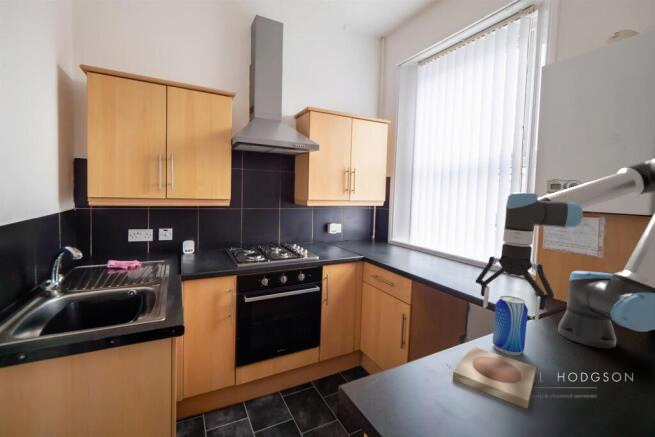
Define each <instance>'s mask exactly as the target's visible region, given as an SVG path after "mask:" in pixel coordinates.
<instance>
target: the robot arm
mask: <svg viewBox="0 0 655 437" xmlns="http://www.w3.org/2000/svg"><path fill="white" fill-rule="evenodd" d="M652 193H655V157H653V158H649V159H647V160H644V161H641V162H638V163H636V164H632V165H629V166H626V167H623V168H621V169H619V170H618V171H617V173H614V174H612V175H608V176H604V177H602V178H598V179H595V180H592V181H589V182H585V183H582V184H579V185H575V186H573V187H570V188H567V189H563V190H558V191H556V192H554V193H550V194H546V195H543V196H540V197H538V194H537V193H536V192H535V193H532V192H511V193H509V194H508V196H507V199H506V205H505V220H504V229H503V235H502V236H503V238H502V241H503V242H504V243H502V246H501V247H502V248H501V256H500V257H496V256H495V255H491V256H489V258H488V263H487V264H486V266H485V267H484V268H483V270H482V271H481V272H480V274H479V275H478V276H477V278H476V279H475V284H479V285H480V287H481V289H480V296H481V297H483V305H482V307H483V308H484V309H486V308H487V307H488V305H489V304H488V303H489V298H490V297H489V294H490V285H488V284H490V283H491V282H493V281H494V280H495V279H497V278H498V277H499V276H501V275H502V274H504V272H505V274H507V275H514V276H517V277H521V276H522V277H523V278H524V279H525V280H526V281H527V282H528V283H529V285H530V286H531V287H532V289H533V290H534V291H535V293H536V294H537V295H538V296H537V298H536V303H535V304H536V305H535V312H534V313H535V314H534V321H536V322H539V318H540V310H541V311H545V307H546V300H547V299H554V297H555V294H554V292H553V289H552V287H551V284H550V283H549V280H548V278H547V276H546V274H545V271H544V264H543V263H541V262H540V263H532V260H531V259H532V252H533V251H532V249H533V248H532V246H531V245H533V241H534V231H535V226H539V227H540V226H541V227H555V228H563V229H565V228H576V227H577V226H579V225H580V223H581V222H582V220H583V214H584V212H583V209H584V208H588V207H592V206H594V205H599V204H602V203H604V202H608V201H612V200H615V199H619V198H622V197H626V196H629V197H636V196H639V195H642V194H643V195H644V194H652ZM645 227H646V228H645V229H644V232H643V233H642V235H641V237H640V238H639V240H638V243H637V244H636V246H635V248H634V249H633V251H632V254H631V255H630V256H629V259H628V261H627V263H626V265H625V266H624V267H623V270H620V271H618V272H614V273H607V272H600V271H587V270H574V271H572V272H570V276H569V280H568V282H569V283H568V284H569V285H568V292H567V293H568V294H567V302H566V311H565V313H564V314H563V316H562V318H561V320H560V321H559V324H558V325H557V326H558V327H557V332H558V333H559V334H560V335H561V336H562V337H564V338H566V339H568V340H570V341H573V342H575V343H578V344H581V345H584V346H587V347H588V346H589V347H594V348H598V349H613V348H616V346H617V336H616V334H615V330H614V327H613V326H614V325H613V323H612V322H614V323H615V324H617V325H618V326H621V327H624V328H627V329H630V330H633V331H636V332H649V331H654V330H655V211H654V212H653V214H652V216H651V218H650V220H649V222H648V224H647V226H645ZM497 263H499V265H500V266H501V268H500V269H499V270H497V271H496V272H494V273H492V275H491V276H490V277H488V278H487V279H485V280H483V279H484V278H485V277H486V276H487V274H488V273H489V271H490V270H491V269H492V267H493V266H494V265H495V264H497ZM531 268H532V269H533V270H534V271H535V272H537V275H538V278H539V279H540V282H541V283H542V286H543V288H544V290H545V292H544V291H543V289H542V288H541V286H540V285H539V284H538V283H537V282H536V279H534V277H533V276H532V274H531V272H529V270H530V269H531Z"/></svg>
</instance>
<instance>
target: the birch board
mask: <svg viewBox="0 0 655 437" xmlns="http://www.w3.org/2000/svg"><path fill="white" fill-rule="evenodd" d="M536 374H537V366H535V365H532V364H529V363H525V362H522V361H519V360H516V359H513V358H510V357H507V356H504V355H502V354H501V355H500V354H498V353H494V352H493V351H492V352H491V351H489V350H485V349H483V348H480V347H477V346H476V347H475V346H472V345H471V347H470V348H469V350H468V351H467V353H465V355H464V357H463V358H462V359H461V360H460V362H458V364H457V366H456V367H455V368H454V370H453V372H452V380H453V381H455V382H456V381H457V382H459V383H462V384H464V385H466V386H469V387H471V388H474V389H476V390H479V391H481V392H483V393H486V394H489V395H491V396H494V397H496V398H499V399H500V400H504V401H506V402H509V403H511V404H513V405H515V406H518V407H522V408H524V409H528V408H529V405H530V400H531V396H532V392H533V387H534V383H535V378H536ZM528 410H529V409H528Z"/></svg>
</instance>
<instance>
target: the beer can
mask: <svg viewBox="0 0 655 437" xmlns="http://www.w3.org/2000/svg"><path fill="white" fill-rule="evenodd" d="M525 302H526V301H525V299H522V298H519V297H517V296H511V295H500V296H499V299H498V300H497V301H496V303H495V311H494V321H493V322H494V323H493V333H492V344H493V346H494V348H495V349H496V350H497V351H499V352H500V353H503V354H505V355H510V356H520V355H521V354H522V353H523V352H524V351H525V345H526V344H525V343H526V334H527V324H528V313H529V309H528V307H527V305H526V304H525Z"/></svg>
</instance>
